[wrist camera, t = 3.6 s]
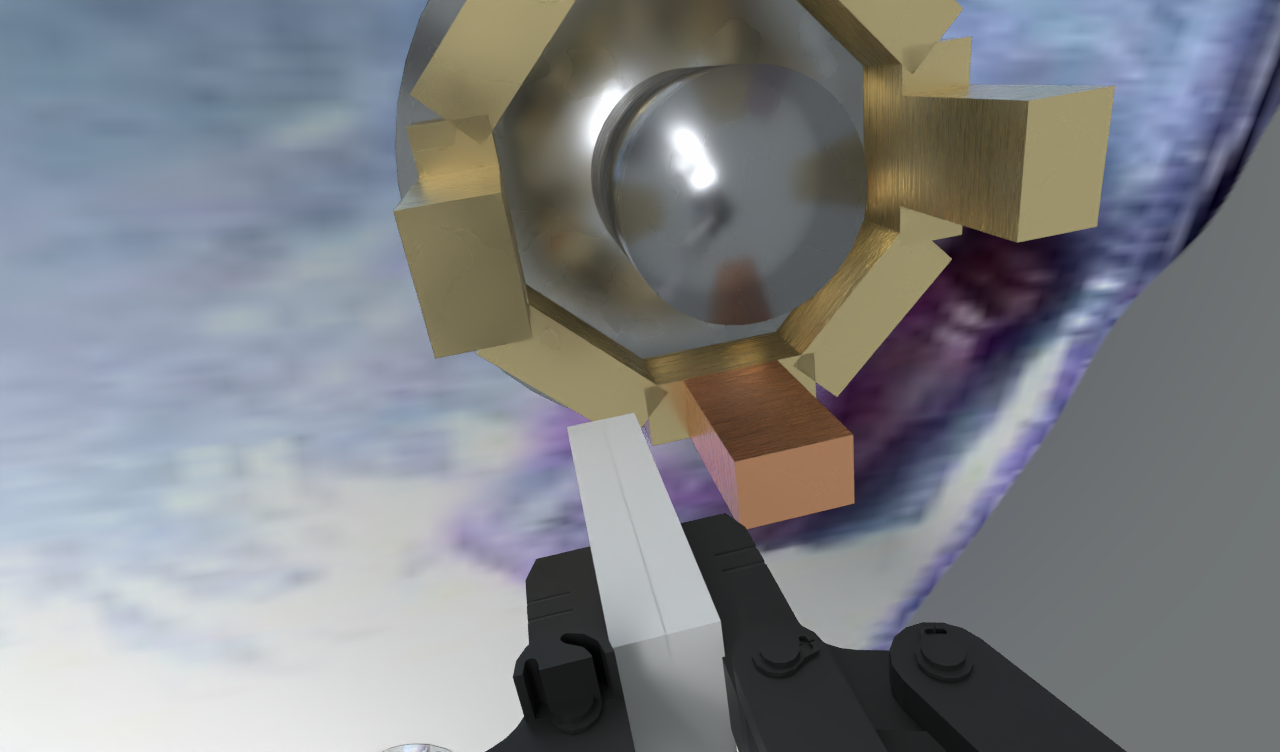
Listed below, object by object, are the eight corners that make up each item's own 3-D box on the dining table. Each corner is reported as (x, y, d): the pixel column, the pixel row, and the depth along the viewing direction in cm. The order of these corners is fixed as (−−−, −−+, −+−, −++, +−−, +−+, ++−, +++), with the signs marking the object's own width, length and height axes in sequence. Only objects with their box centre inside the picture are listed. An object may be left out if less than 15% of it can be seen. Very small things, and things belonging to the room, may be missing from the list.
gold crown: (361, -85, 17) (280, -187, 11) (930, -156, 19) (1161, -280, 12) (498, 445, 23) (500, 588, 17) (917, 355, 25) (1067, 452, 18)
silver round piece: (323, -110, 18) (233, -210, 12) (926, -182, 20) (1123, -301, 14) (476, 450, 25) (470, 575, 19) (914, 356, 27) (1042, 439, 21)
